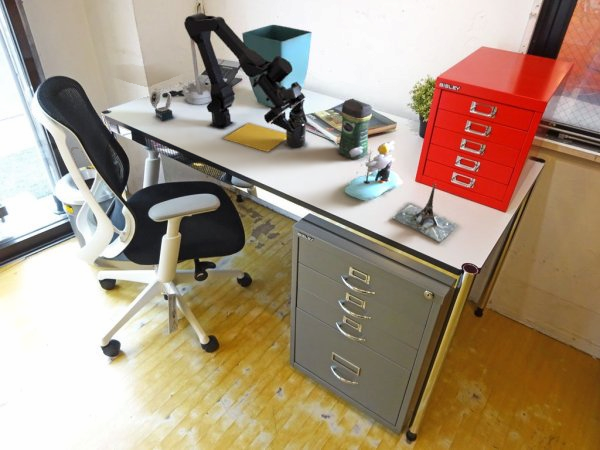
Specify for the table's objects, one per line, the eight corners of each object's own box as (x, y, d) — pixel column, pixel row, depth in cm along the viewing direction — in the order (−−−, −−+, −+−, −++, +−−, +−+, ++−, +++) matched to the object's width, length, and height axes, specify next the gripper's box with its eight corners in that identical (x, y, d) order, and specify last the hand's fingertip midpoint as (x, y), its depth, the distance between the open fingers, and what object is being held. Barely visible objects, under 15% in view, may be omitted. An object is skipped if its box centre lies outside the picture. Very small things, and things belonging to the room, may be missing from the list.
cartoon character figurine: (384, 171, 143) (390, 128, 134) (408, 185, 136) (417, 141, 127) (337, 190, 134) (340, 145, 124) (360, 206, 127) (366, 160, 118)
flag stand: (182, 95, 193) (171, 21, 174) (212, 92, 196) (204, 20, 178) (185, 106, 183) (174, 30, 165) (217, 103, 186) (209, 28, 168)
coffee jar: (370, 154, 152) (377, 103, 141) (355, 162, 148) (360, 109, 136) (350, 145, 157) (354, 94, 146) (334, 151, 153) (338, 100, 142)
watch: (151, 118, 173) (146, 90, 166) (170, 112, 178) (165, 85, 171) (158, 122, 170) (153, 94, 163) (177, 117, 174) (172, 89, 168)
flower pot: (274, 90, 199) (273, 23, 182) (310, 100, 190) (312, 31, 173) (245, 103, 186) (240, 32, 169) (282, 115, 177) (281, 41, 160)
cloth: (224, 138, 160) (224, 137, 160) (248, 124, 170) (248, 123, 170) (267, 152, 152) (267, 151, 152) (290, 135, 163) (290, 134, 162)
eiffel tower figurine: (390, 219, 122) (398, 178, 114) (409, 204, 128) (418, 164, 120) (439, 243, 114) (451, 200, 106) (457, 226, 120) (469, 184, 112)
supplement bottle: (306, 148, 155) (307, 116, 147) (286, 149, 154) (286, 117, 147) (304, 140, 160) (304, 108, 153) (285, 140, 159) (285, 109, 152)
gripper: (270, 84, 138) (300, 125, 140) (301, 68, 151) (327, 106, 153) (251, 103, 146) (280, 142, 148) (281, 87, 159) (307, 122, 161)
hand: (299, 127), depth 152 cm, fingers open, 9 cm apart
